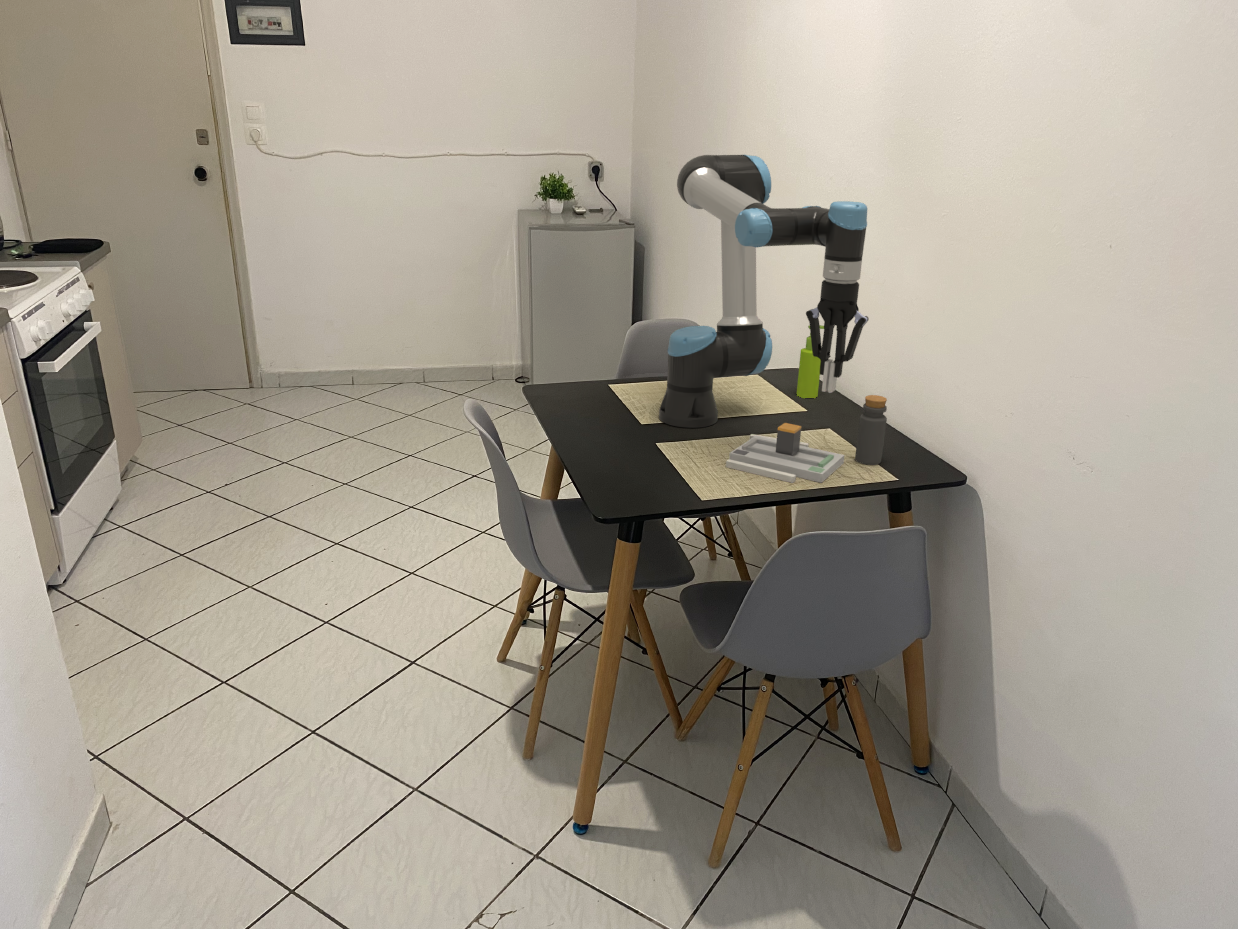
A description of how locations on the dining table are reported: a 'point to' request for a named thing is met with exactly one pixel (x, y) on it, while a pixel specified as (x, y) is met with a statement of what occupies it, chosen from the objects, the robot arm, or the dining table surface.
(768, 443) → the panel
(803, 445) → the light grey thin bar
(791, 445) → the knob
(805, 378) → the soap dispenser
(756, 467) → the light grey long bar
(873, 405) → the bottle
